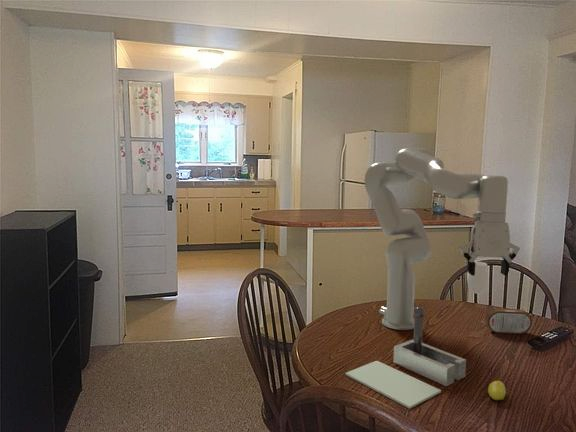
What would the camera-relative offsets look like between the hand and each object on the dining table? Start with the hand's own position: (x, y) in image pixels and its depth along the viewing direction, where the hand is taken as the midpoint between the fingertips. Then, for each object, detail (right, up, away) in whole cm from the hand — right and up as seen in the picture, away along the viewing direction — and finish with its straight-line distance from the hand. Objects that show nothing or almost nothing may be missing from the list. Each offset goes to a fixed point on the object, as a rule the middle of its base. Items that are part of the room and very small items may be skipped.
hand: (487, 274), depth 140 cm
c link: (-19, -27, -5) cm, 33 cm away
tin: (+17, -24, +24) cm, 38 cm away
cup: (+12, -21, +40) cm, 47 cm away
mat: (-32, -28, -13) cm, 44 cm away
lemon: (-6, -29, -19) cm, 36 cm away
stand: (-22, -26, -1) cm, 34 cm away
